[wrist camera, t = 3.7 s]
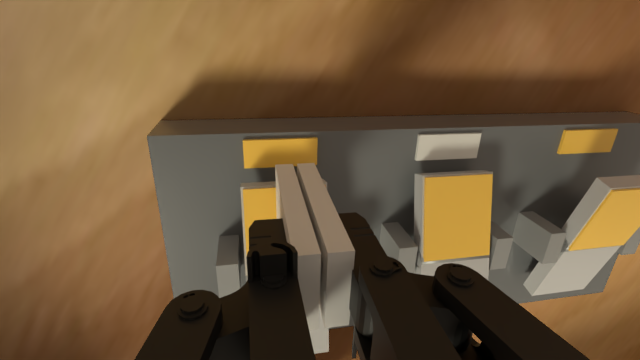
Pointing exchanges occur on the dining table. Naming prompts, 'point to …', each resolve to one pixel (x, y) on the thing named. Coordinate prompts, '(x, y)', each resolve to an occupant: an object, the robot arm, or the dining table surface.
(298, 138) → the switch panel
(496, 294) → the robot arm
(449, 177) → the switch
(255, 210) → the switch
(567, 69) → the dining table surface
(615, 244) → the switch
